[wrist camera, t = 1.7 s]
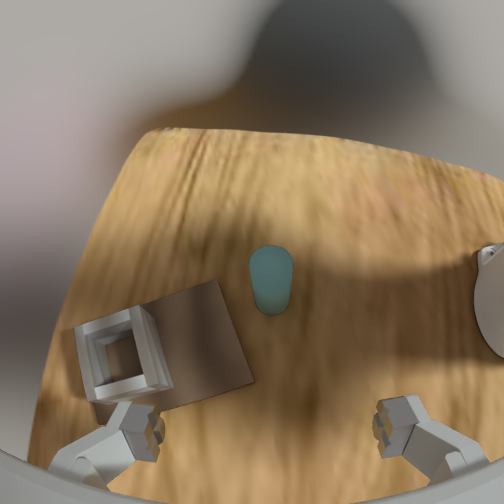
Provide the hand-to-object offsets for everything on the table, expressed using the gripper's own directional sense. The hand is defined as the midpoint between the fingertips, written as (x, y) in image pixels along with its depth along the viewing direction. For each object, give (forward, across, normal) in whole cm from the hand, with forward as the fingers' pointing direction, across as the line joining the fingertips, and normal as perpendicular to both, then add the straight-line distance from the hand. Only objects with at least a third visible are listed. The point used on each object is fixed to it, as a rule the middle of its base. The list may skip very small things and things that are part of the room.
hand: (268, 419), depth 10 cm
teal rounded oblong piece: (+24, 0, +6) cm, 25 cm away
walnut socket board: (+19, +12, +11) cm, 25 cm away
